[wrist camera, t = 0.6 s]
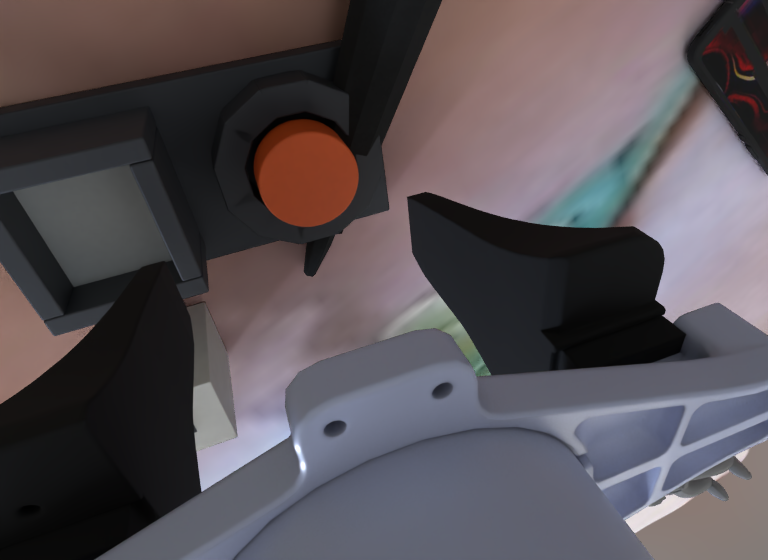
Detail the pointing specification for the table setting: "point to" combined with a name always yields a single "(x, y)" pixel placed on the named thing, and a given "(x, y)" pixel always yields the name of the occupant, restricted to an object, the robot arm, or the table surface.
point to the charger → (210, 383)
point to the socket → (93, 216)
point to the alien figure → (710, 481)
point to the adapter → (228, 137)
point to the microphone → (374, 76)
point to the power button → (305, 173)
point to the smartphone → (738, 69)
